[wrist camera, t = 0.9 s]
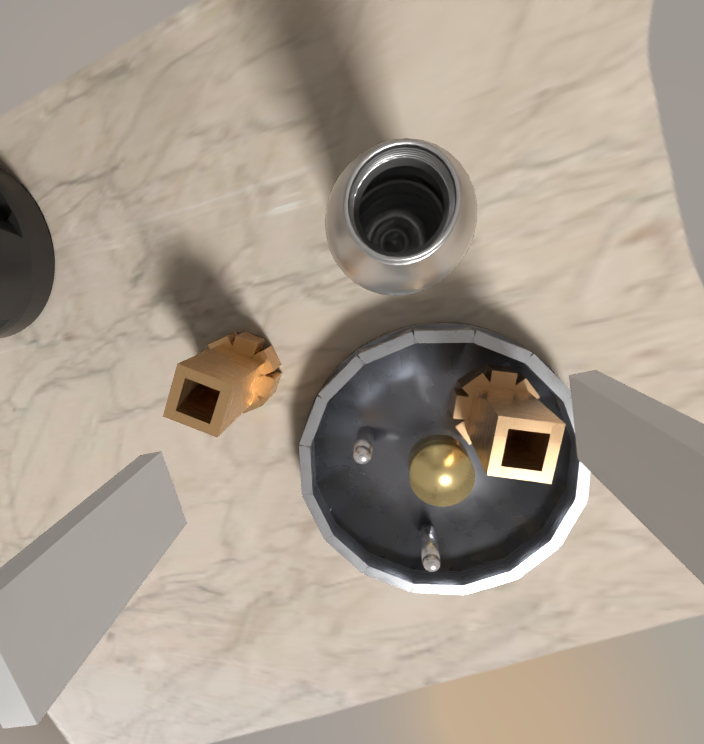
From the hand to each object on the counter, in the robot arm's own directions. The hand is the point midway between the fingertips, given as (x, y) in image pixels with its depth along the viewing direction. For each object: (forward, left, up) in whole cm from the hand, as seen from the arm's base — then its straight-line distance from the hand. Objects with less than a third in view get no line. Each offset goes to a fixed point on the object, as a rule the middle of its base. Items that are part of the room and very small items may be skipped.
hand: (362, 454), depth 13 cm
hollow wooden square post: (-10, -6, -22) cm, 25 cm away
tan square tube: (+10, -1, -20) cm, 23 cm away
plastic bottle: (-2, +8, -22) cm, 23 cm away
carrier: (+8, -7, -22) cm, 24 cm away
